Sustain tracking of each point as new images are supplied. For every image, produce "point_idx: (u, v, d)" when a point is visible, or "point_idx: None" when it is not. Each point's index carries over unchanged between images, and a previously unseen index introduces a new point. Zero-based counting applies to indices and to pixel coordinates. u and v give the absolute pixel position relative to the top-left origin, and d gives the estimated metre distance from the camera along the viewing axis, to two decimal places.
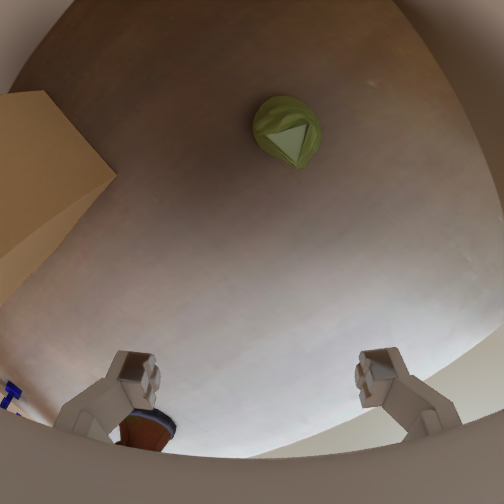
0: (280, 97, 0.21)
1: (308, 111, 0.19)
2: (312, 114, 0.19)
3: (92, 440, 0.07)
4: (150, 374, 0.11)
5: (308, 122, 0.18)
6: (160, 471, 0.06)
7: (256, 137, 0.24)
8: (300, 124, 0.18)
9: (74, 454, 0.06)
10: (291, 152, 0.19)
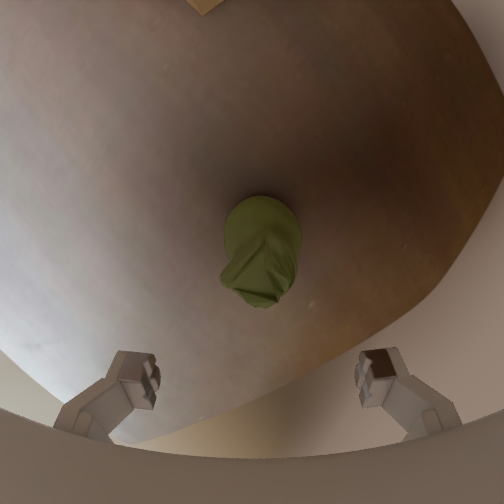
0: (300, 239, 0.20)
1: None
2: None
3: (92, 440, 0.07)
4: (150, 374, 0.11)
5: (278, 299, 0.17)
6: (161, 471, 0.06)
7: (249, 206, 0.21)
8: (276, 291, 0.17)
9: (74, 454, 0.06)
10: (241, 281, 0.17)
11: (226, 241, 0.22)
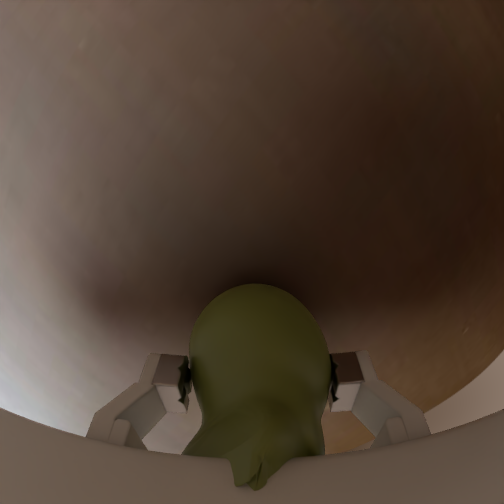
0: (329, 384, 0.10)
1: None
2: None
3: (92, 440, 0.07)
4: (184, 377, 0.11)
5: None
6: (161, 471, 0.06)
7: (233, 320, 0.10)
8: None
9: (74, 454, 0.06)
10: None
11: (192, 374, 0.11)
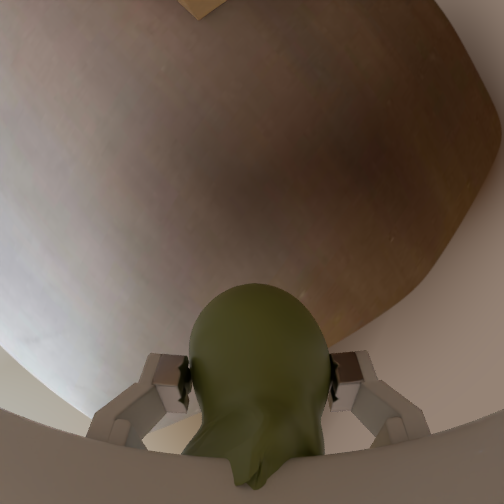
0: (329, 384, 0.10)
1: None
2: None
3: (92, 440, 0.07)
4: (184, 377, 0.11)
5: None
6: (160, 472, 0.06)
7: (233, 320, 0.10)
8: None
9: (74, 454, 0.06)
10: None
11: (192, 374, 0.11)
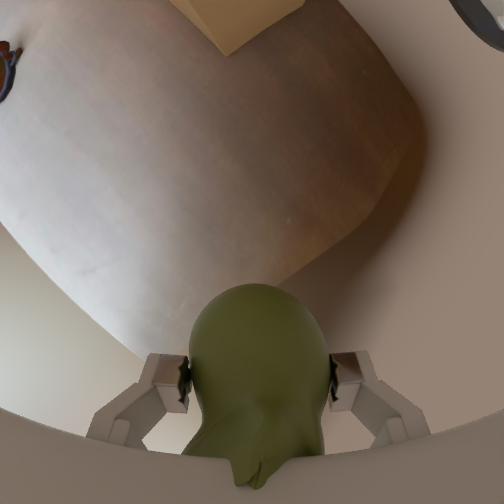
0: (329, 384, 0.10)
1: None
2: None
3: (92, 440, 0.07)
4: (184, 377, 0.11)
5: None
6: (160, 471, 0.06)
7: (233, 320, 0.10)
8: None
9: (74, 454, 0.06)
10: None
11: (192, 374, 0.11)
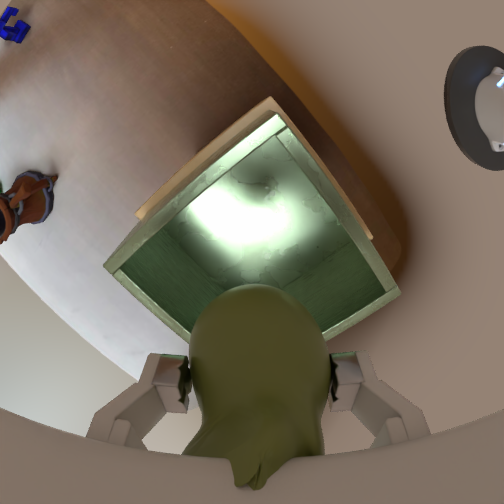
0: (329, 385, 0.10)
1: None
2: None
3: (92, 440, 0.07)
4: (184, 377, 0.11)
5: None
6: (160, 471, 0.06)
7: (233, 320, 0.10)
8: None
9: (74, 454, 0.06)
10: None
11: (192, 375, 0.11)
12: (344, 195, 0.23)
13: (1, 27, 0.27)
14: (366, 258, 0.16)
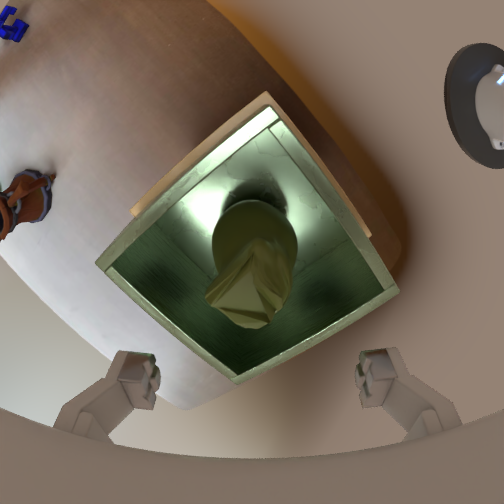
0: (296, 248, 0.18)
1: None
2: None
3: (92, 440, 0.07)
4: (150, 374, 0.11)
5: (271, 319, 0.15)
6: (160, 471, 0.06)
7: (238, 212, 0.19)
8: (268, 311, 0.15)
9: (74, 454, 0.06)
10: (228, 300, 0.15)
11: (214, 252, 0.19)
12: (342, 191, 0.22)
13: None
14: (363, 255, 0.16)
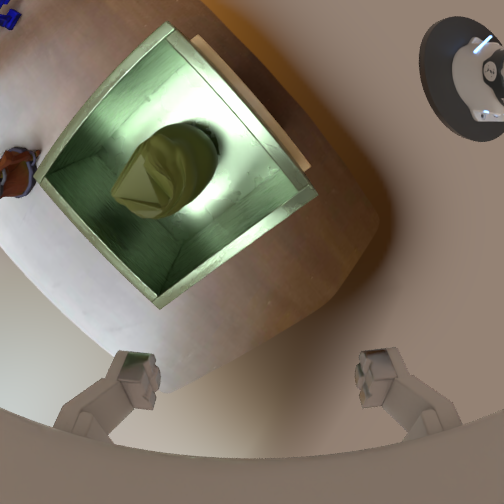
0: (209, 157, 0.18)
1: (184, 200, 0.16)
2: (181, 205, 0.16)
3: (92, 440, 0.07)
4: (150, 374, 0.11)
5: (163, 206, 0.14)
6: (160, 471, 0.06)
7: (160, 130, 0.18)
8: (159, 196, 0.14)
9: (74, 454, 0.06)
10: (125, 187, 0.14)
11: None
12: (274, 120, 0.22)
13: None
14: (265, 148, 0.15)
